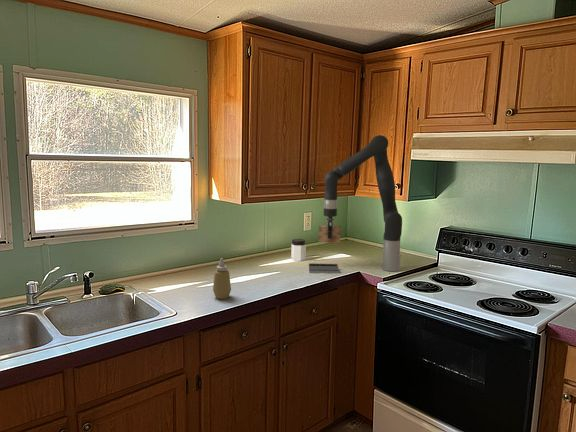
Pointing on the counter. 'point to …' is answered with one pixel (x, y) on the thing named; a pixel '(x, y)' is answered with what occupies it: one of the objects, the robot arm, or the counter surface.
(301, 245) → the jar
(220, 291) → the squeeze bottle
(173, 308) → the counter surface
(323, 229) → the door panel
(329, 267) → the floor track
